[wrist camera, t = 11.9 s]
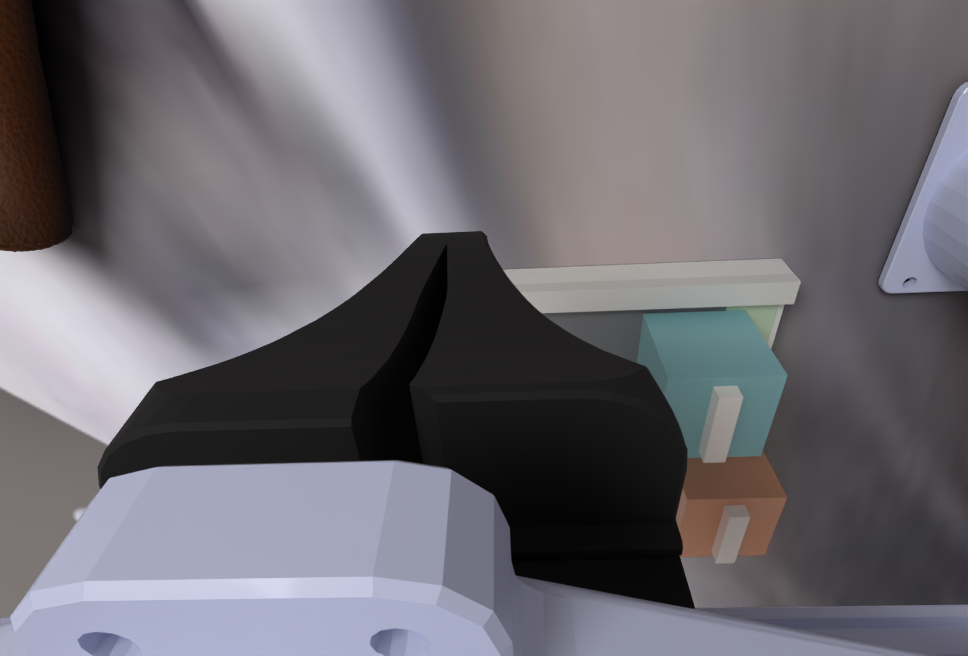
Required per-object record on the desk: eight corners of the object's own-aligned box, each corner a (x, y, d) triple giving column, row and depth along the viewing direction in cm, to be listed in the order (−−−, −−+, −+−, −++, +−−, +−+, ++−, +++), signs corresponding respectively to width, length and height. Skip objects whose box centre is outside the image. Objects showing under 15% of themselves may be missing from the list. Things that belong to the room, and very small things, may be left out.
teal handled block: (745, 310, 22) (795, 387, 19) (725, 386, 25) (767, 468, 21) (642, 313, 23) (672, 390, 19) (633, 389, 25) (657, 471, 21)
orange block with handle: (750, 426, 26) (793, 510, 22) (733, 483, 28) (769, 567, 25) (663, 428, 26) (691, 512, 23) (653, 484, 29) (676, 569, 25)
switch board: (780, 258, 23) (801, 281, 21) (713, 499, 31) (724, 527, 30) (383, 274, 23) (376, 297, 22) (425, 505, 32) (422, 533, 30)
